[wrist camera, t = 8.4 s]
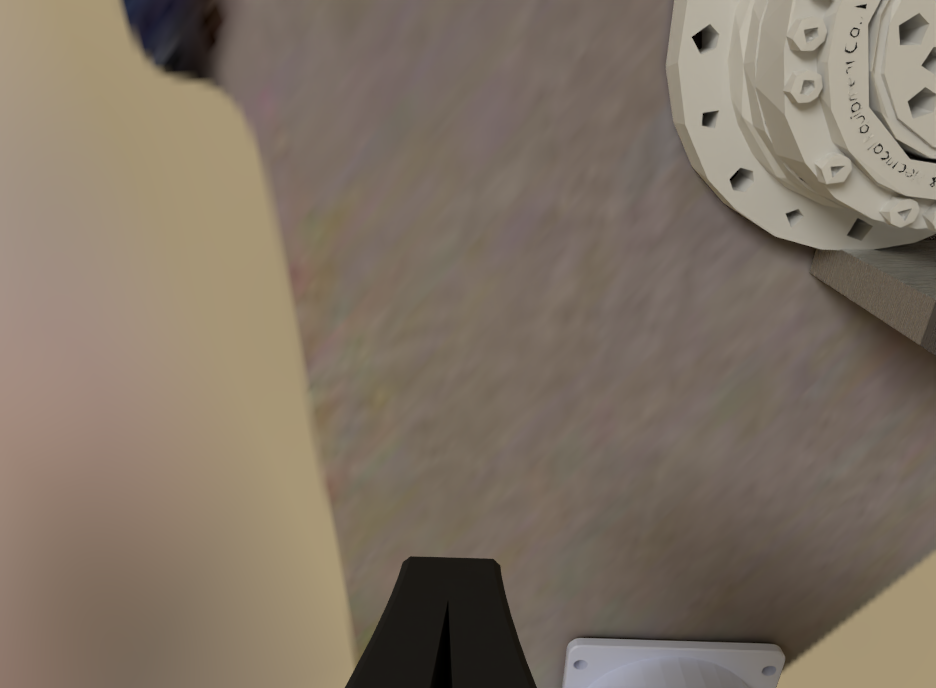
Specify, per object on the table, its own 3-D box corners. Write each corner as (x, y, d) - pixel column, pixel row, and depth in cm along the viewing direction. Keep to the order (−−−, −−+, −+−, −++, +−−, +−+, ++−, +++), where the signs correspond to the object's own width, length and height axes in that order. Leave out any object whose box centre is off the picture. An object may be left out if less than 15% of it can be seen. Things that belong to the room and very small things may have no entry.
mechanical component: (1012, 233, 17) (1179, -242, 13) (1175, 288, 13) (1497, -379, 9) (645, 240, 17) (689, -222, 13) (693, 296, 13) (779, -343, 9)
